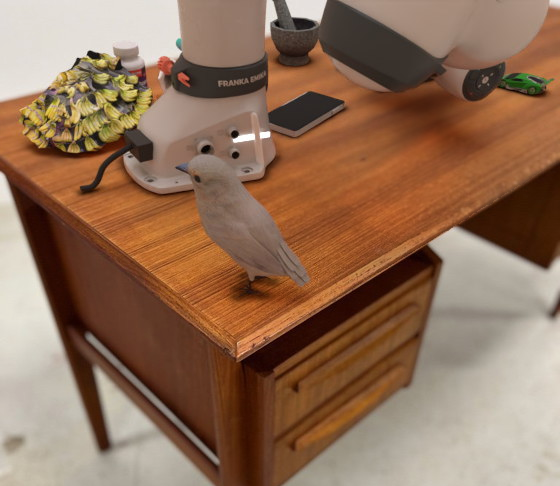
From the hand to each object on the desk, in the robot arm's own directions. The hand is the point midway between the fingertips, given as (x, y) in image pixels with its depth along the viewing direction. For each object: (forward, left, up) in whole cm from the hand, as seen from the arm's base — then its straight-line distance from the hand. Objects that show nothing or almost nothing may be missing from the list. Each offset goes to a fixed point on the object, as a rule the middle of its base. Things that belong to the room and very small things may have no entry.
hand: (404, 19), depth 102 cm
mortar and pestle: (-12, +19, -11) cm, 25 cm away
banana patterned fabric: (-57, +5, -9) cm, 58 cm away
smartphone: (-25, -6, -11) cm, 28 cm away
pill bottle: (-48, +12, -11) cm, 51 cm away
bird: (-54, -41, -11) cm, 69 cm away
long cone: (-33, +29, -9) cm, 44 cm away
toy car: (+18, -15, -11) cm, 25 cm away
